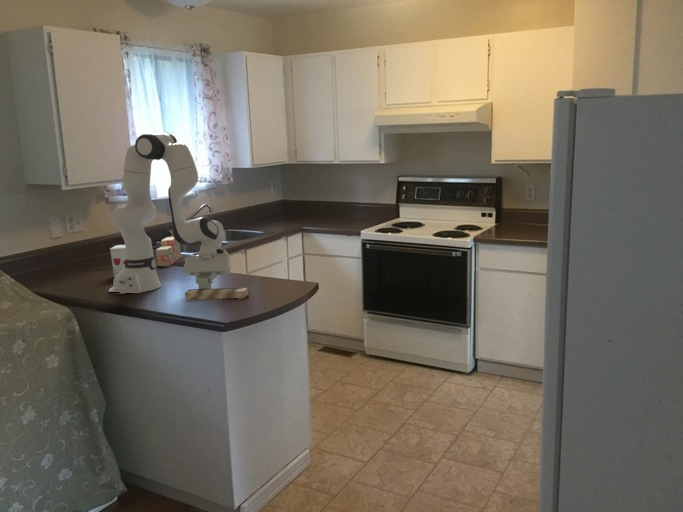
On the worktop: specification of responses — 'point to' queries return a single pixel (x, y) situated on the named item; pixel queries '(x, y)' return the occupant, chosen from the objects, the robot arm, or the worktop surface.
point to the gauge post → (204, 281)
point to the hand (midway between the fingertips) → (204, 282)
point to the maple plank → (216, 293)
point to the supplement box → (118, 258)
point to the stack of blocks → (168, 252)
